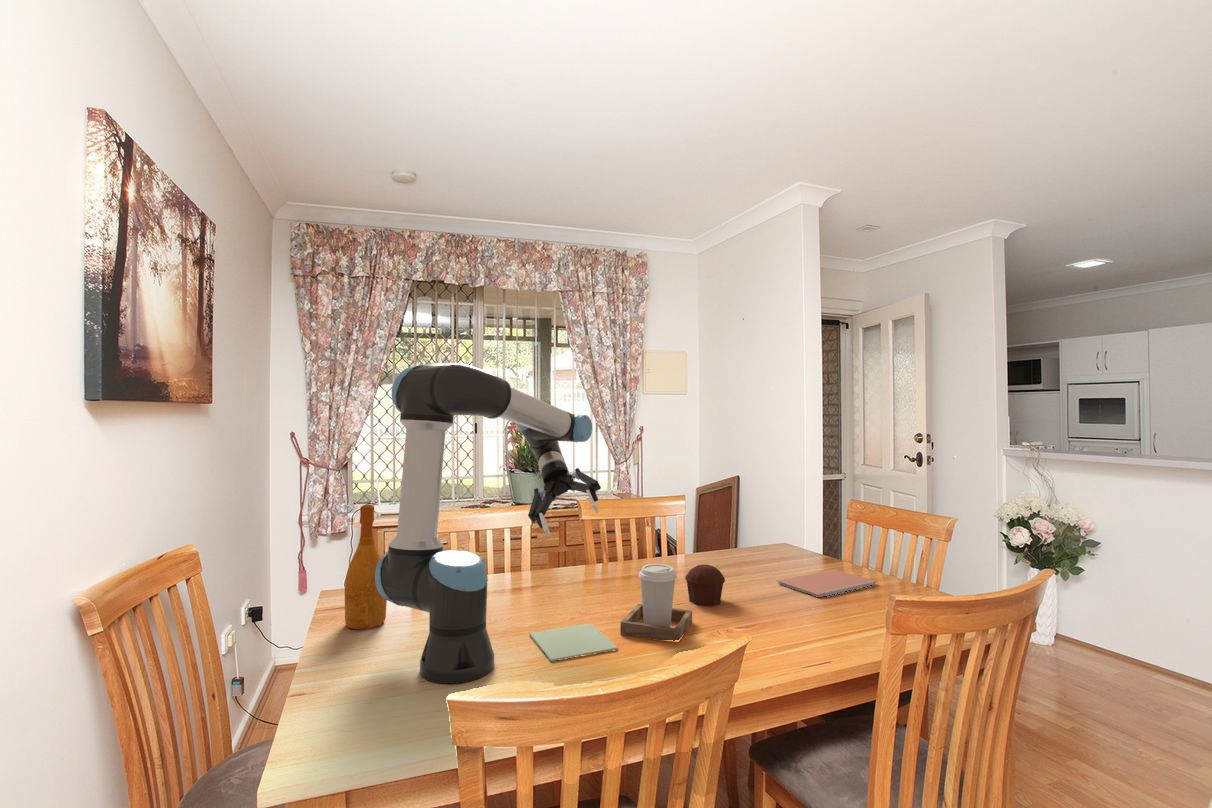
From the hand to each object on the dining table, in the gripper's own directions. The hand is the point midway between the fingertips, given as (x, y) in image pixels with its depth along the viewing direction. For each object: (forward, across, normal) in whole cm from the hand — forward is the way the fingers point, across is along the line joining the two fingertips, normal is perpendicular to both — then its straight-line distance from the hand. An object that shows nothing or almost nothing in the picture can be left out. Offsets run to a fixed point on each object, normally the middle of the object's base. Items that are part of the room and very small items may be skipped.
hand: (571, 521), depth 146 cm
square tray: (+20, -8, -26) cm, 34 cm away
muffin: (+8, -22, -44) cm, 50 cm away
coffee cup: (+20, -8, -26) cm, 34 cm away
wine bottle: (-1, +58, -2) cm, 58 cm away
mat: (+22, +11, -14) cm, 28 cm away
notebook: (+7, -59, -68) cm, 91 cm away
